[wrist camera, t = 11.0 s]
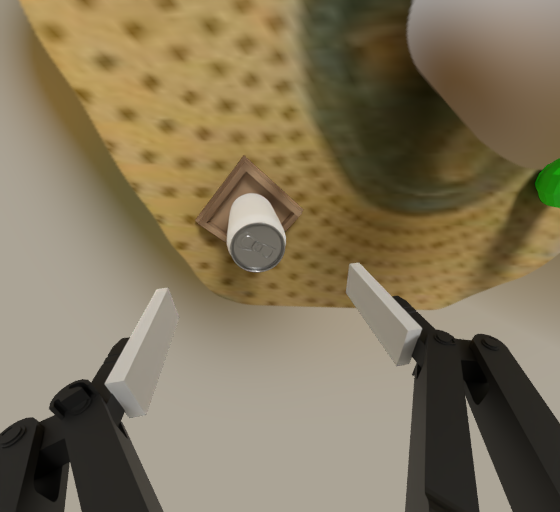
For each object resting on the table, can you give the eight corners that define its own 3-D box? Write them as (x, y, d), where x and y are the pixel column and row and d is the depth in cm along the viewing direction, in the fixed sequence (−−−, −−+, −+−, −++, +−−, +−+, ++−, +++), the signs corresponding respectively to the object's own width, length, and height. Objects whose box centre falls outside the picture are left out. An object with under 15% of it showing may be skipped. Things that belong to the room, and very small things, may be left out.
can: (243, 183, 30) (245, 205, 20) (281, 206, 33) (301, 237, 22) (222, 222, 32) (214, 260, 22) (259, 241, 35) (268, 284, 24)
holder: (196, 218, 33) (193, 224, 30) (243, 155, 30) (244, 156, 28) (256, 259, 37) (257, 266, 35) (302, 208, 35) (306, 212, 32)
